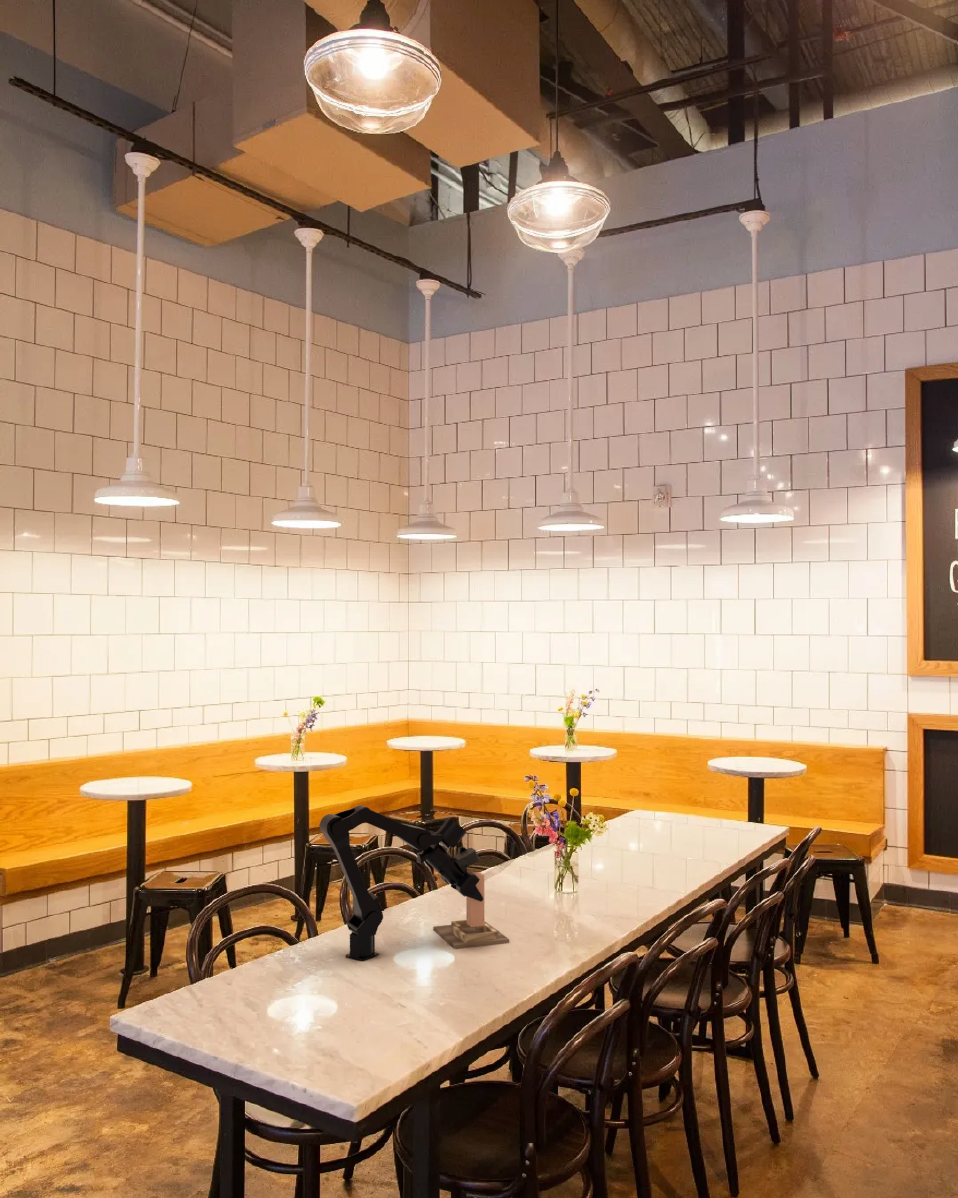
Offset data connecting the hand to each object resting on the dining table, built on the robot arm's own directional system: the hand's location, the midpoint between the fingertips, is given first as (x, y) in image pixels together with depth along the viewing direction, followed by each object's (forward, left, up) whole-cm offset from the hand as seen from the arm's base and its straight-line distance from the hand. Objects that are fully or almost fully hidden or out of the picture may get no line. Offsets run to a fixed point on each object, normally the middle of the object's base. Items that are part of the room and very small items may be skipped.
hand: (479, 898), depth 283 cm
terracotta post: (-1, +1, -7) cm, 7 cm away
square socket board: (+1, +5, -11) cm, 12 cm away
